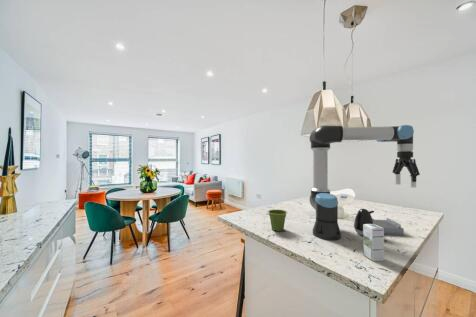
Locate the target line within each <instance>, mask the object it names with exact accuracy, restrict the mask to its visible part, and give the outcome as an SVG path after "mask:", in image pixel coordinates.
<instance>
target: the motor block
mask: <svg viewBox="0 0 476 317" xmlns="http://www.w3.org/2000/svg"><path fill="white" fill-rule="evenodd" d="M372 219H373V223H374V224H375V225H378V226H380V227H382V228H384V236H385V235H387V236H388V235H389V236H403V237H404V235H405V234H404V230H405V228H404V227H402V224H401V223H399V222H396V221H394V220H392V219H390V218H388V217H387V218H386V219H374V218H373V217H372Z"/></svg>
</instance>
